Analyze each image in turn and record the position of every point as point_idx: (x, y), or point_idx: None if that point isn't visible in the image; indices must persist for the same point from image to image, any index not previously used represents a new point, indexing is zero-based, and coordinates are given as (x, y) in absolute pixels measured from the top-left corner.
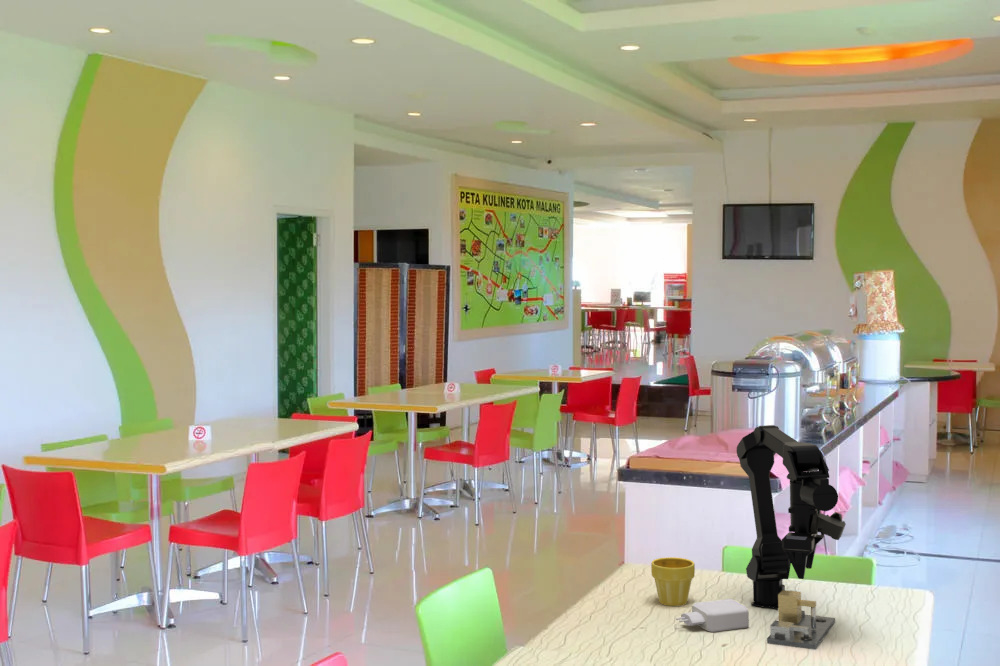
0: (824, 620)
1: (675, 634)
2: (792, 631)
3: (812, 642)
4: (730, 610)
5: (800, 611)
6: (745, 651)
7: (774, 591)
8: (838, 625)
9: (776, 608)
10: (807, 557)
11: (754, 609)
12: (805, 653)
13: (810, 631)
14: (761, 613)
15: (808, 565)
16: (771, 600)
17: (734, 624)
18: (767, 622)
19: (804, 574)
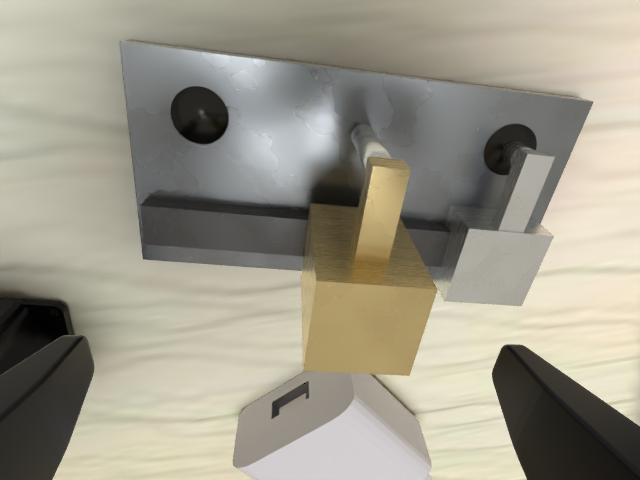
0: (201, 95)
1: (445, 472)
2: (484, 216)
3: (561, 117)
4: (387, 442)
5: (332, 224)
6: (590, 318)
7: (5, 365)
8: (173, 16)
9: (66, 308)
10: (19, 475)
11: (114, 366)
12: (626, 133)
13: (397, 144)
14: (152, 340)
15: (75, 378)
16: (42, 345)
17: (380, 391)
18: (256, 308)
19: (535, 368)
